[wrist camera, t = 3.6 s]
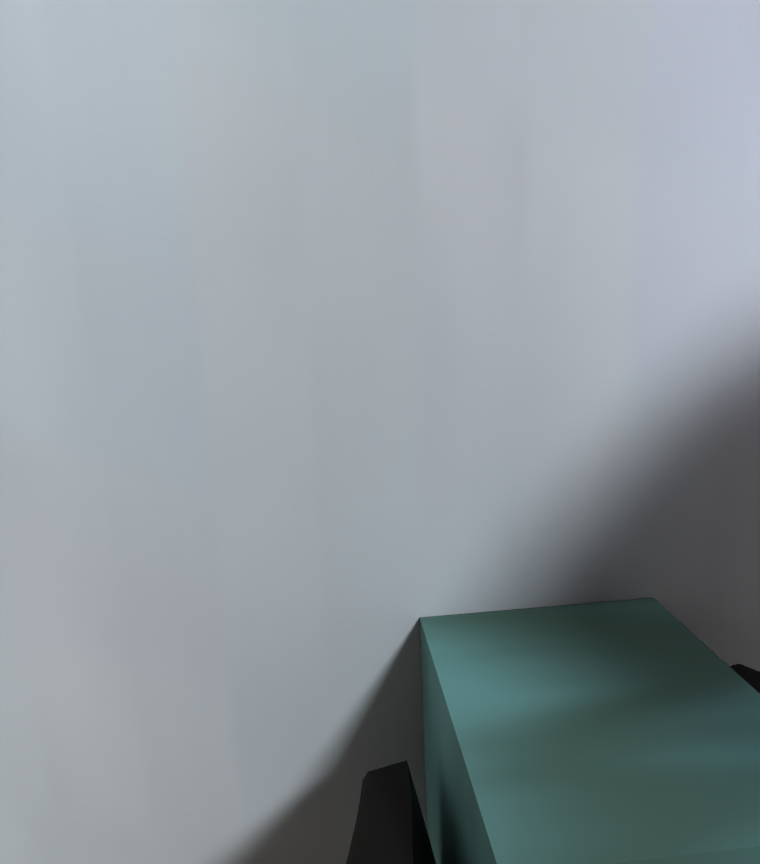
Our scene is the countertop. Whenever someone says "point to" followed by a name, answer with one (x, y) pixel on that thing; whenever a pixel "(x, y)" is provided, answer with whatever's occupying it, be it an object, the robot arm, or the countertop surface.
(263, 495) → the countertop surface
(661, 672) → the teal block
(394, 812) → the robot arm
